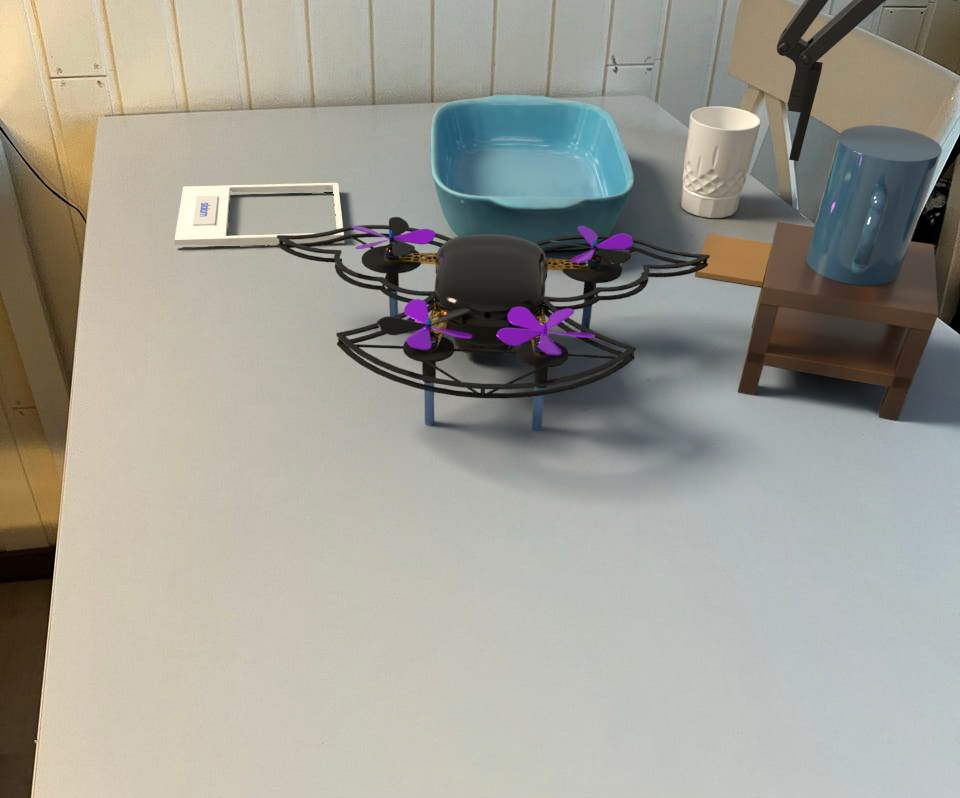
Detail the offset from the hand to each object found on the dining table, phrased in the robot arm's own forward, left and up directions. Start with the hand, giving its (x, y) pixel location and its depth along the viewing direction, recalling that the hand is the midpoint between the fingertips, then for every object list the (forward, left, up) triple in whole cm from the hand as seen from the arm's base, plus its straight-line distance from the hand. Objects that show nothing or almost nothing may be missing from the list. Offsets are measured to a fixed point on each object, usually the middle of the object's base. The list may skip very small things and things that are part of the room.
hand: (879, 167), depth 80 cm
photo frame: (+63, -12, -18) cm, 66 cm away
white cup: (+15, -34, -18) cm, 41 cm away
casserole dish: (+36, -27, -18) cm, 48 cm away
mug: (0, +1, -8) cm, 8 cm away
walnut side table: (0, 0, -18) cm, 18 cm away
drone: (+29, +13, -18) cm, 37 cm away
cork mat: (+9, -20, -18) cm, 28 cm away
